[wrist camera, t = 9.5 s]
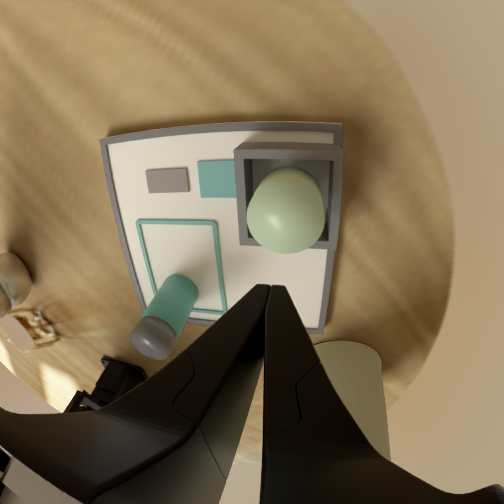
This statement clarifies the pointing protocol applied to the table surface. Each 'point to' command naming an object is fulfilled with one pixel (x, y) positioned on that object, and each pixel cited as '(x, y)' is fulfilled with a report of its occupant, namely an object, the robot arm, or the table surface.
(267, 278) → the activity board
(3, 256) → the plastic bottle
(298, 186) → the key
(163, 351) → the teal cylinder
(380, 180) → the table surface
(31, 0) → the table surface
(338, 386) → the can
